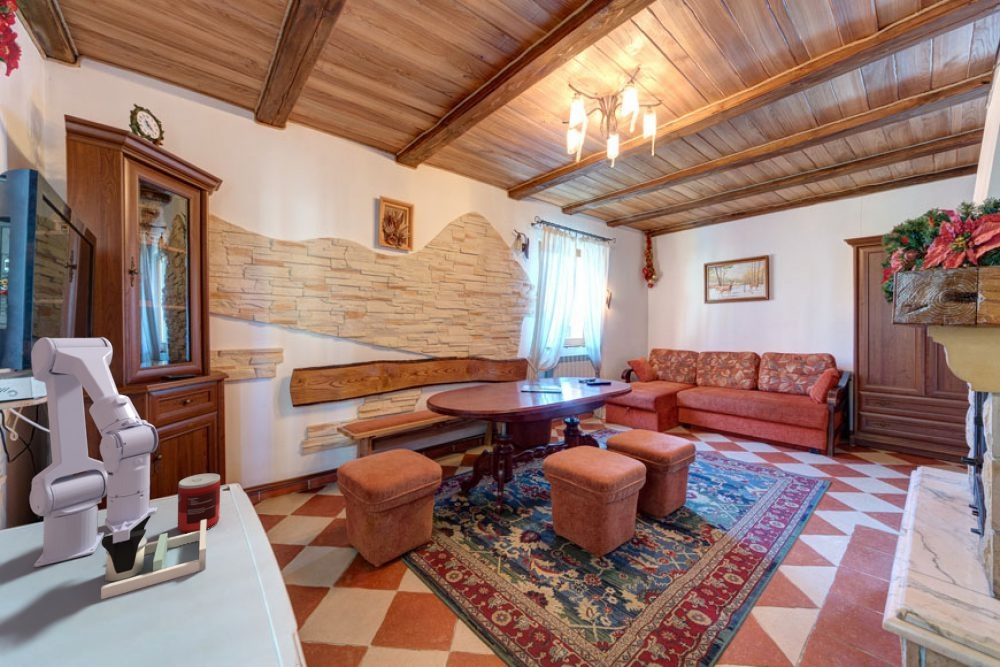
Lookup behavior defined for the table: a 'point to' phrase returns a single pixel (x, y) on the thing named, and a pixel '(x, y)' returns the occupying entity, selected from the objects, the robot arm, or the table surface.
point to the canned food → (198, 502)
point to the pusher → (160, 553)
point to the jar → (137, 567)
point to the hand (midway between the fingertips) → (127, 563)
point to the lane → (167, 572)
